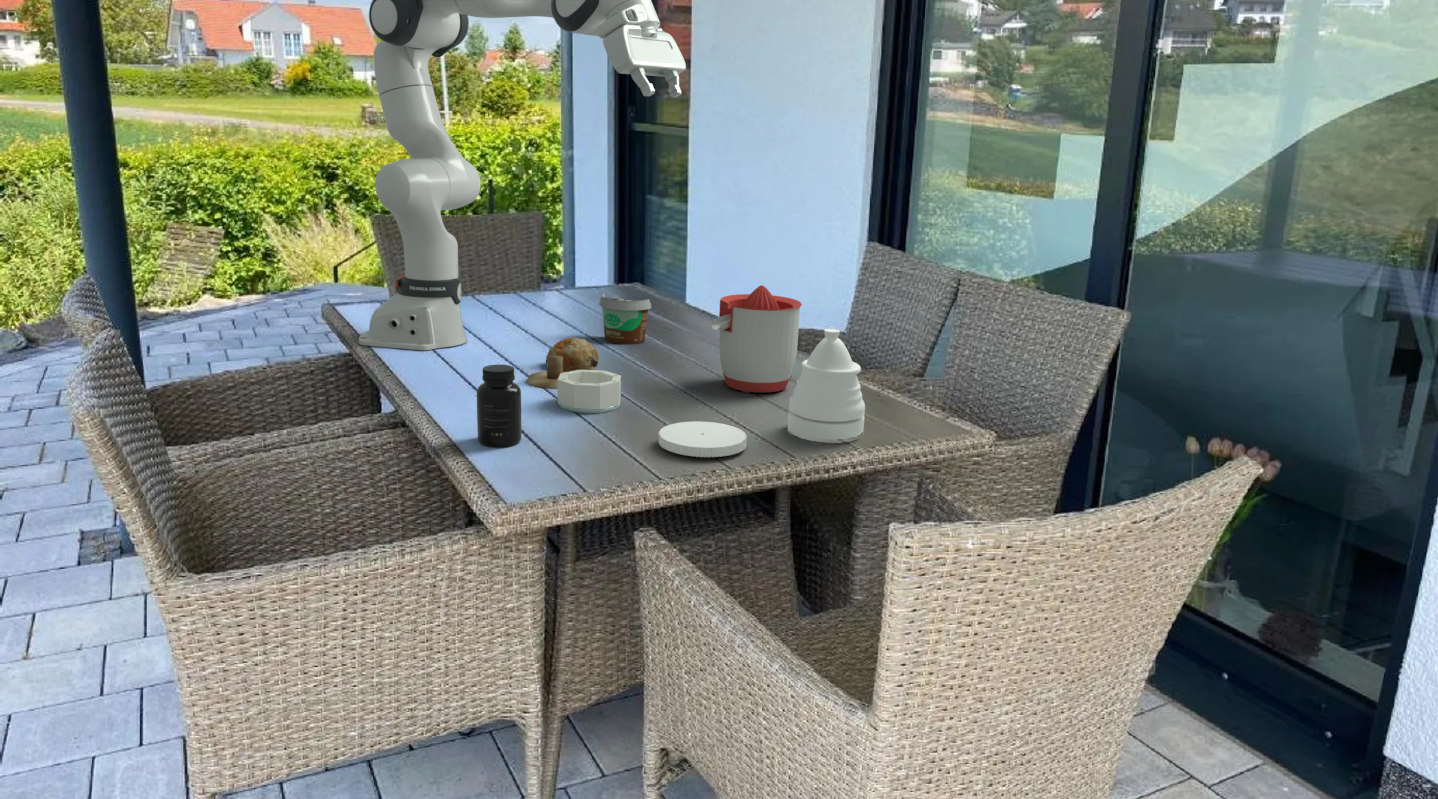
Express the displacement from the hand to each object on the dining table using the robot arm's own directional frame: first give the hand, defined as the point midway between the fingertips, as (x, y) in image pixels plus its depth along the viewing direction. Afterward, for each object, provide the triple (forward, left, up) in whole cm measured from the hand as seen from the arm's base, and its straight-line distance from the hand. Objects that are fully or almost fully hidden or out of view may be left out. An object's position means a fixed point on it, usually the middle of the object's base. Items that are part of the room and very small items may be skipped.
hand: (663, 95), depth 196 cm
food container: (-9, +34, -54) cm, 64 cm away
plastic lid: (+9, -40, -54) cm, 68 cm away
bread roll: (-17, +9, -54) cm, 57 cm away
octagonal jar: (-11, -18, -54) cm, 58 cm away
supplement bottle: (-23, -41, -54) cm, 72 cm away
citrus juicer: (+19, -1, -54) cm, 57 cm away
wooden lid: (-19, -3, -54) cm, 57 cm away
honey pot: (+30, -29, -54) cm, 68 cm away
